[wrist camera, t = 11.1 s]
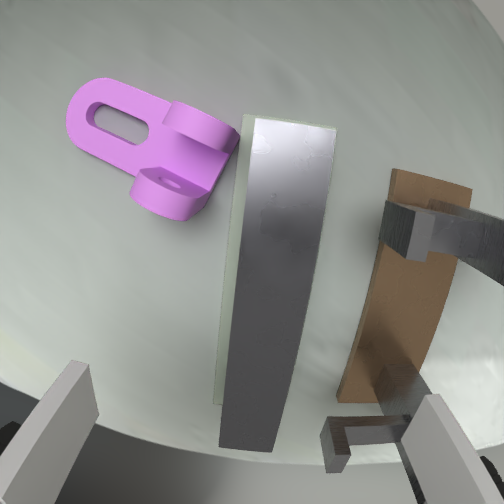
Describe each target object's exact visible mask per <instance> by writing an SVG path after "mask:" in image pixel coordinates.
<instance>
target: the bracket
mask: <svg viewBox="0 0 504 504" xmlns="http://www.w3.org/2000/svg"><path fill="white" fill-rule="evenodd" d="M103 104H107V105H109V106H111V107H114V108H116V109H118V110H121V111H123V112H125V113H128V114H130V115H132V116H135V117H137V118H139V119H141V120H143V121H145V122H146V123H147V125H148V127H149V135H148V137H147V139H146V141H145V142H144V143H142V144H140V145H136V144H134V143H132V142H130V141H128V140H126V139H124V138H122V137H119V136H117V135H115V134H113V133H111V132H109V131H107V130H104V129H102V128H100V127H98V126H97V125H96V124H95V122H94V113H95V111H96V109H97V108H98V107H99V106H101V105H103ZM66 128H67V132H68V135H69V137H70V139H71V140H72V142H73V143H74V144H75V145H76V146H77V147H79V148H80V149H82V150H84V151H86V152H88V153H90V154H92V155H94V156H96V157H98V158H100V159H102V160H104V161H106V162H108V163H110V164H112V165H114V166H116V167H118V168H120V169H122V170H124V171H126V172H128V173H130V174H132V175H134V176H136V179H135V181H134V184H133V186H132V188H131V191H130V196H131V198H132V199H133V200H134V201H136V202H137V203H138V204H140V205H141V206H143V207H144V208H146V209H148V210H150V211H152V212H154V213H156V214H158V215H161V216H164V217H166V218H170V219H173V220H178V221H187V220H188V219H190V218H191V217H192V216H193V215H195V214H196V213H197V212H198V211H200V210H201V209H202V208H204V206H205V204H206V202H207V200H208V198H209V196H210V194H211V192H212V190H213V188H214V186H215V184H216V182H217V180H218V178H219V176H220V175H221V173H222V171H223V169H224V167H225V165H226V163H227V161H228V159H229V157H230V156H231V154H232V152H233V150H234V148H235V146H236V144H237V143H238V141H239V139H240V135H239V134H238V133H237V132H236V130H235V129H234V128H232V127H231V126H229V125H227V124H225V123H224V122H222V121H220V120H218V119H216V118H214V117H212V116H210V115H208V114H206V113H204V112H202V111H200V110H197V109H195V108H193V107H191V106H188V105H186V104H184V103H181V102H178V101H175V100H174V101H173V103H170V102H168V101H165V100H163V99H161V98H158V97H156V96H154V95H151V94H149V93H147V92H144V91H142V90H139V89H137V88H134V87H132V86H129V85H127V84H124V83H121V82H119V81H116V80H114V79H110V78H98V79H94V80H92V81H89V82H88V83H86V84H85V85H83V86H82V87H81V88H80V89H79V90H78V91H77V92H76V93H75V95H74V96H73V98H72V100H71V102H70V104H69V106H68V110H67V114H66Z"/></svg>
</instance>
